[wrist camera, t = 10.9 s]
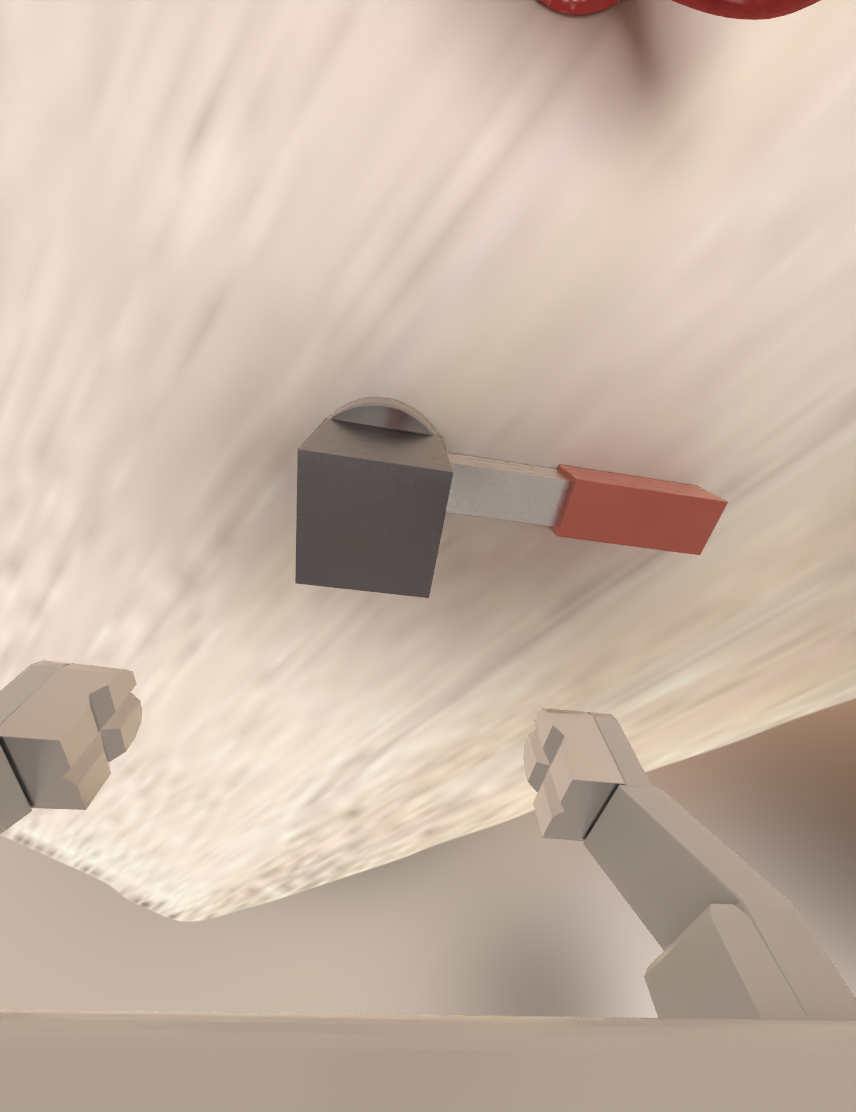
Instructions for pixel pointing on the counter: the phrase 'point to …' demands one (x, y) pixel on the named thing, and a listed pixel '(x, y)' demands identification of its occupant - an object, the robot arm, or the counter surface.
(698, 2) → the mug
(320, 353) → the counter surface
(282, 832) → the counter surface
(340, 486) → the matte grey cube
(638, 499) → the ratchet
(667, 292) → the counter surface
